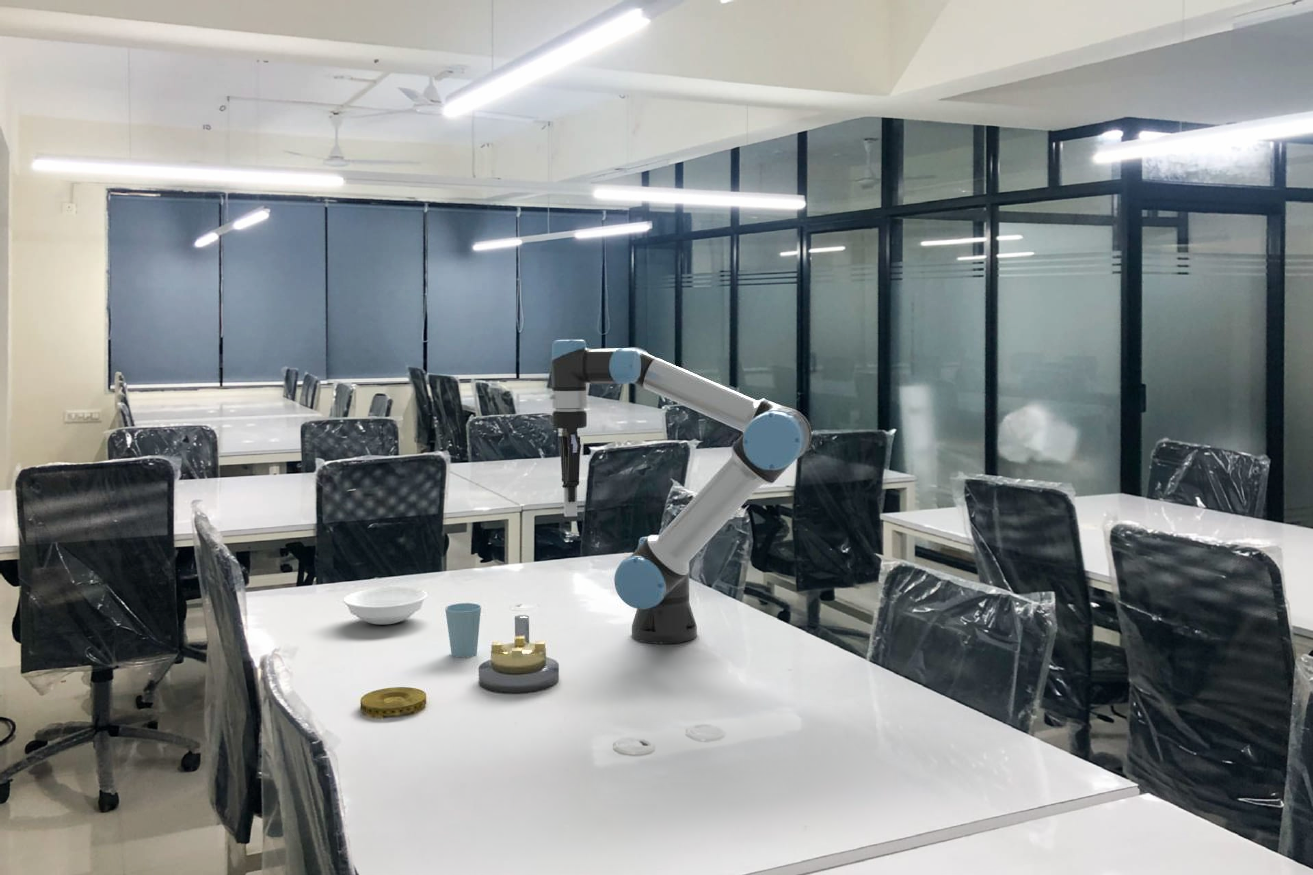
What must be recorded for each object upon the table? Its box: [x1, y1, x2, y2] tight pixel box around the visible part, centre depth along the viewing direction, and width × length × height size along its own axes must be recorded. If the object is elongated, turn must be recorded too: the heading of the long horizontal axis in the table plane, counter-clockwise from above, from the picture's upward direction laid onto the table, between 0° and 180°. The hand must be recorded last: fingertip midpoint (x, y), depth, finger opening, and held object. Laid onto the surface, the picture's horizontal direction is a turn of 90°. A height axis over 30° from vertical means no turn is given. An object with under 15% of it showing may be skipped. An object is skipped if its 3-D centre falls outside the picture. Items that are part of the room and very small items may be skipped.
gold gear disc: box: [360, 686, 427, 719], centre depth 202 cm, size 12×12×2 cm
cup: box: [445, 602, 482, 658], centre depth 236 cm, size 8×8×10 cm
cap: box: [478, 656, 560, 695], centre depth 217 cm, size 16×16×3 cm
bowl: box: [342, 586, 428, 625], centre depth 262 cm, size 20×20×6 cm
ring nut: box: [490, 614, 547, 673], centre depth 221 cm, size 19×11×9 cm, turn 4°
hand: (570, 515), depth 240 cm, fingers closed
